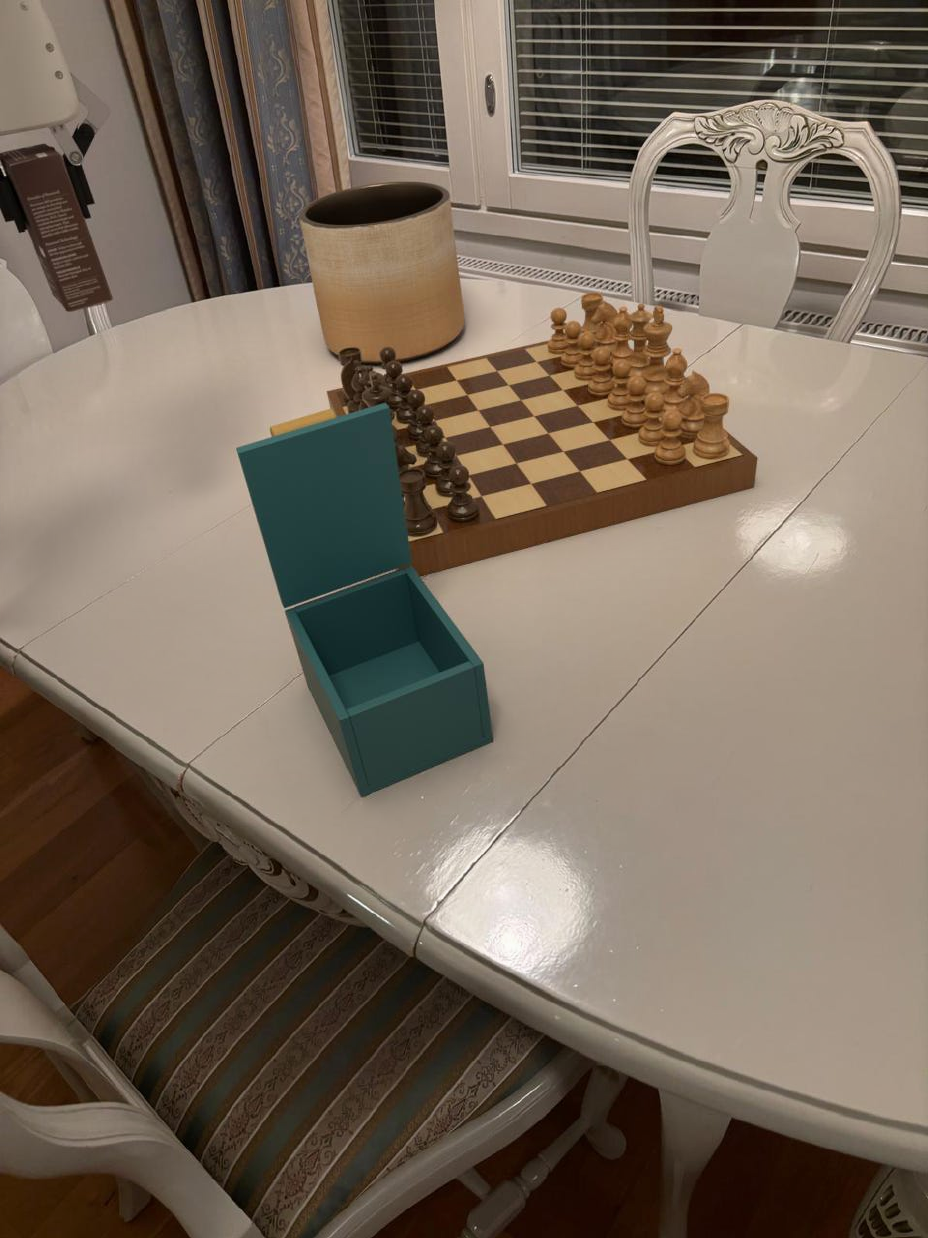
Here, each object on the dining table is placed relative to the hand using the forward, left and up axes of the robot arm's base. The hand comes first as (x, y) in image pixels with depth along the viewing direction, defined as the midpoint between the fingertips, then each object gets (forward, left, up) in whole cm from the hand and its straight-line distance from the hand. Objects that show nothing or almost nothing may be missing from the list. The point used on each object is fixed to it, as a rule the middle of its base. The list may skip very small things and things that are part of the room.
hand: (53, 219), depth 75 cm
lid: (+12, -28, -19) cm, 36 cm away
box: (0, 0, -7) cm, 7 cm away
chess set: (+42, 0, -36) cm, 55 cm away
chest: (+12, -34, -36) cm, 51 cm away
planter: (+42, +42, -36) cm, 69 cm away
